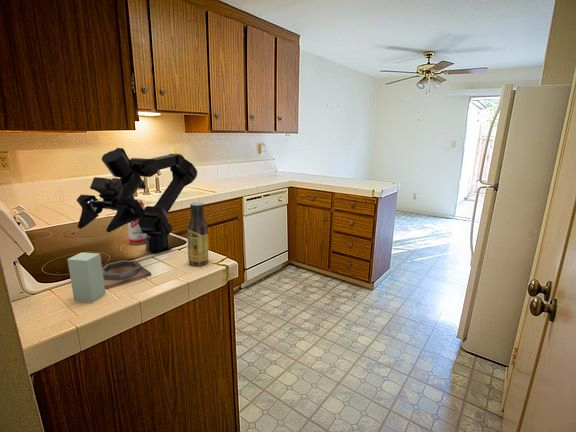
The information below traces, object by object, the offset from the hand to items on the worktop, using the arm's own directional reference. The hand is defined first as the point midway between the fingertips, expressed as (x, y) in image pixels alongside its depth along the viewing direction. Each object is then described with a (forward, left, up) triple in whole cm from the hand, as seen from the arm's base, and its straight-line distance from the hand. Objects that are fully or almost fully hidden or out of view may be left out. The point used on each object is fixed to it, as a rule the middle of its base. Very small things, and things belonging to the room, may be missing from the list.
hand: (93, 229), depth 83 cm
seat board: (-6, 0, -15) cm, 16 cm away
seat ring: (-6, 0, -15) cm, 16 cm away
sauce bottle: (-26, +8, -15) cm, 32 cm away
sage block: (+5, +8, -15) cm, 18 cm away
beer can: (-20, -24, -15) cm, 35 cm away
